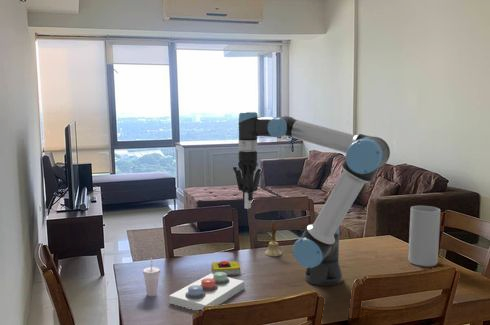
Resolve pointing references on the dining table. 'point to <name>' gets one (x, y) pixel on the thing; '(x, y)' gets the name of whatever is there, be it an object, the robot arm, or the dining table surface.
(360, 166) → the robot arm
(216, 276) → the sage-green button
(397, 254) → the dining table surface
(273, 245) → the hand bell
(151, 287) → the smoothie
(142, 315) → the dining table surface
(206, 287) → the red button
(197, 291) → the slate-blue button
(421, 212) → the cylinder vase
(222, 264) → the emergency button
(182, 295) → the button panel
